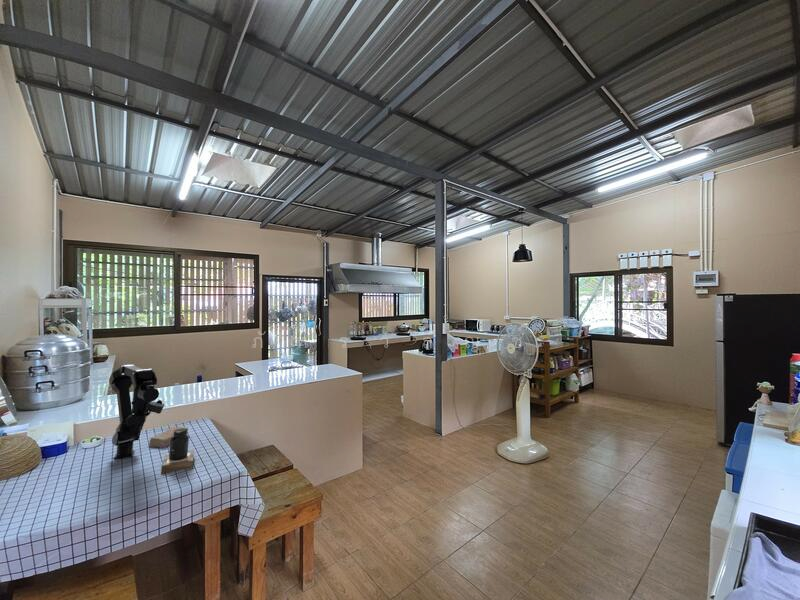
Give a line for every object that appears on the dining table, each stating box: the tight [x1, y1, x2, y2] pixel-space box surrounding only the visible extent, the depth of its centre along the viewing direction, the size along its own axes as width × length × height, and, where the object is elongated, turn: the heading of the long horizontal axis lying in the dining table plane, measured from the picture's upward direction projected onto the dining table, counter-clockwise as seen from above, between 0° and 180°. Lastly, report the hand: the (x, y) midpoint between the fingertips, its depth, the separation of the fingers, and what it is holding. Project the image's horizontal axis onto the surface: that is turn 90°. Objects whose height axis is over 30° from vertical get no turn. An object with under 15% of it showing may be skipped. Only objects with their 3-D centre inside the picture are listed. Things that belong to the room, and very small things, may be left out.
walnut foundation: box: [160, 450, 195, 474], centre depth 139 cm, size 11×11×3 cm
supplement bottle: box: [168, 428, 190, 461], centre depth 139 cm, size 7×7×12 cm
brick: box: [148, 426, 189, 448], centre depth 164 cm, size 17×8×5 cm, turn 176°
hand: (138, 433), depth 139 cm, fingers open, 9 cm apart
